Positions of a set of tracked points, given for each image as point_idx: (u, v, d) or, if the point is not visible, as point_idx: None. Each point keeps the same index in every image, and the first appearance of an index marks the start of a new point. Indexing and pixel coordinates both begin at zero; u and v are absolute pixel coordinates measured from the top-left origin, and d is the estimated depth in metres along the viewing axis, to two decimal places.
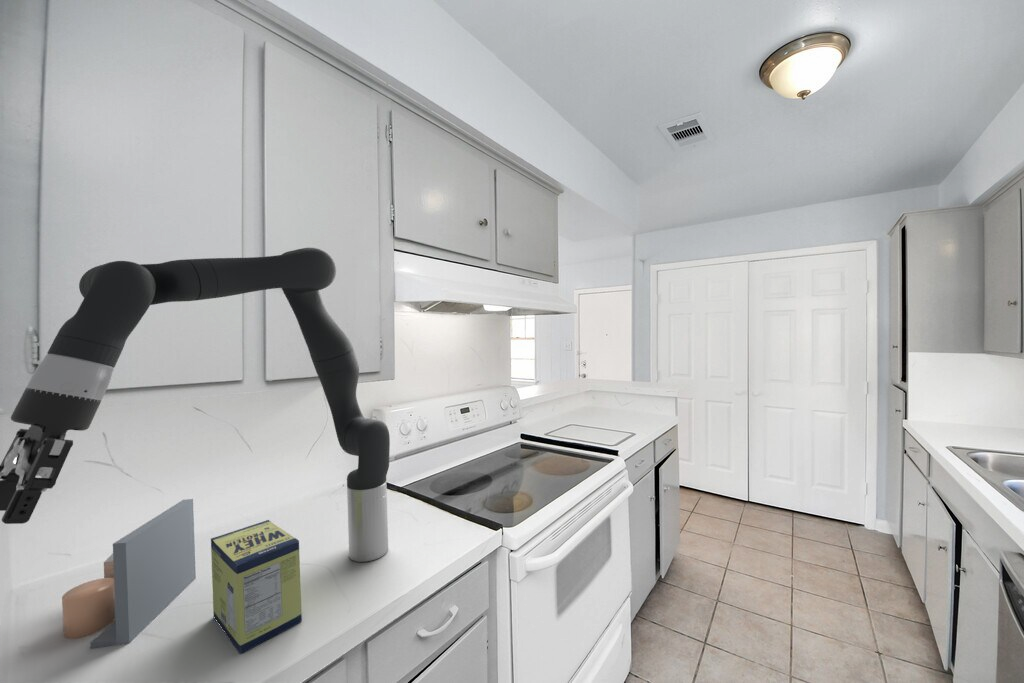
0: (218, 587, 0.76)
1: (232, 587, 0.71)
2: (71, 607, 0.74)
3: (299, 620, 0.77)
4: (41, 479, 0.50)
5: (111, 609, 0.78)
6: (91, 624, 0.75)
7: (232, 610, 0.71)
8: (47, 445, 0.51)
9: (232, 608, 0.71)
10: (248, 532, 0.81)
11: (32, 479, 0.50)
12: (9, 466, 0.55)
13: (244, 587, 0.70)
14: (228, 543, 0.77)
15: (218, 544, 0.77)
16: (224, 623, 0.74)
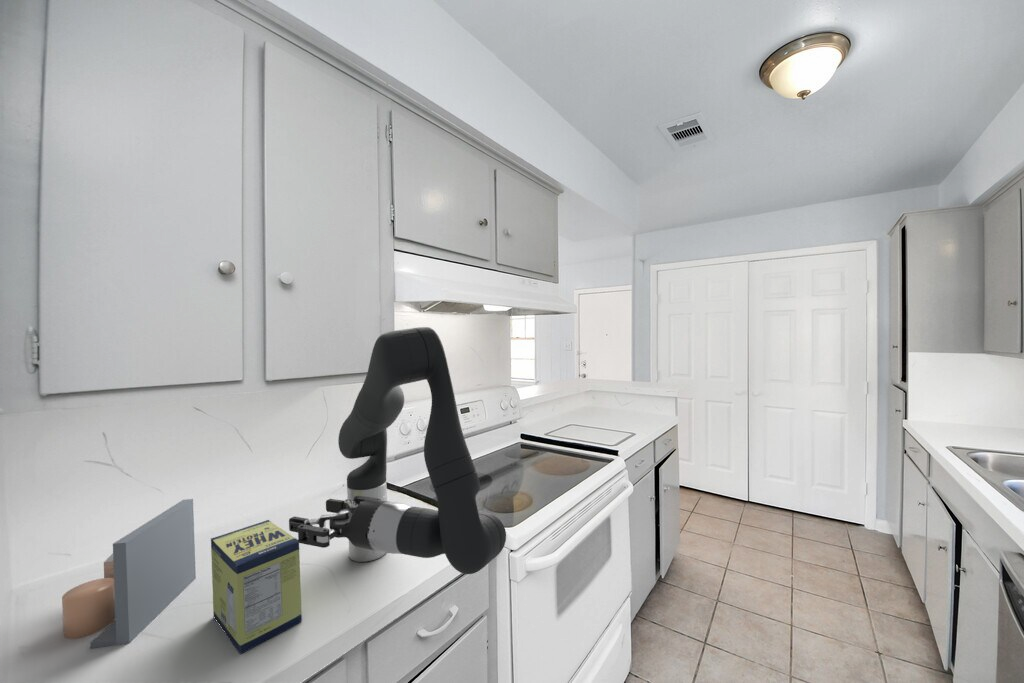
0: (218, 587, 0.76)
1: (232, 587, 0.71)
2: (71, 606, 0.74)
3: (299, 620, 0.77)
4: (360, 503, 0.77)
5: (111, 609, 0.78)
6: (91, 624, 0.75)
7: (232, 610, 0.71)
8: None
9: (232, 608, 0.71)
10: (248, 532, 0.81)
11: None
12: None
13: (244, 587, 0.70)
14: (228, 543, 0.77)
15: (218, 544, 0.76)
16: (224, 623, 0.74)
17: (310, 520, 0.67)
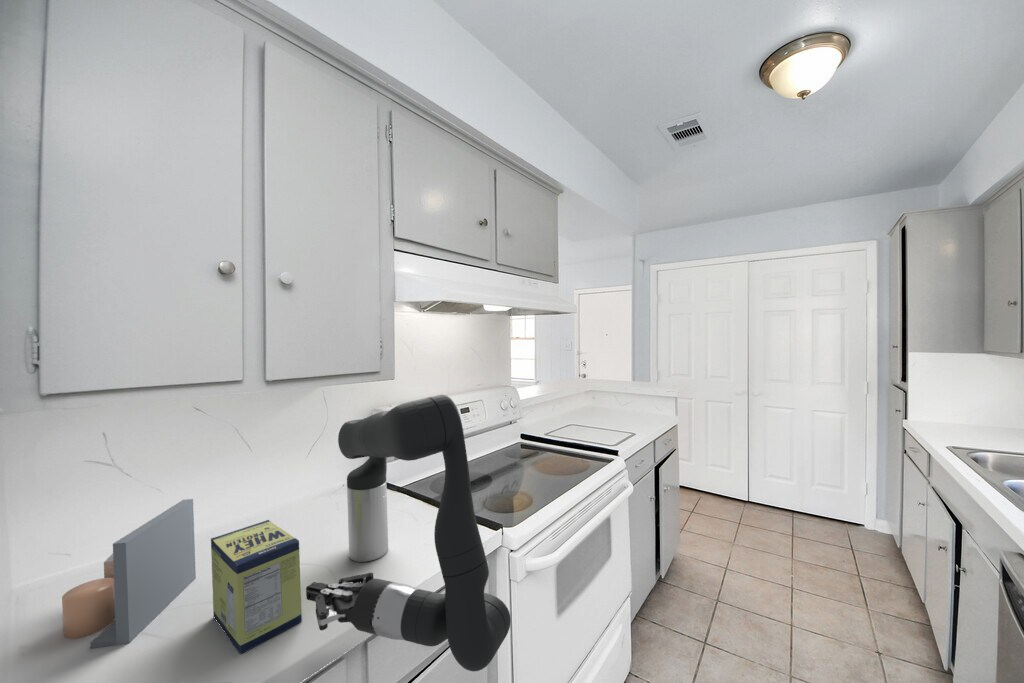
0: (218, 587, 0.76)
1: (232, 587, 0.71)
2: (71, 606, 0.74)
3: (299, 620, 0.77)
4: None
5: (111, 609, 0.78)
6: (91, 624, 0.75)
7: (232, 610, 0.71)
8: None
9: (232, 608, 0.71)
10: (248, 532, 0.81)
11: None
12: None
13: (244, 587, 0.70)
14: (228, 543, 0.77)
15: (218, 544, 0.76)
16: (224, 623, 0.74)
17: (326, 589, 0.71)
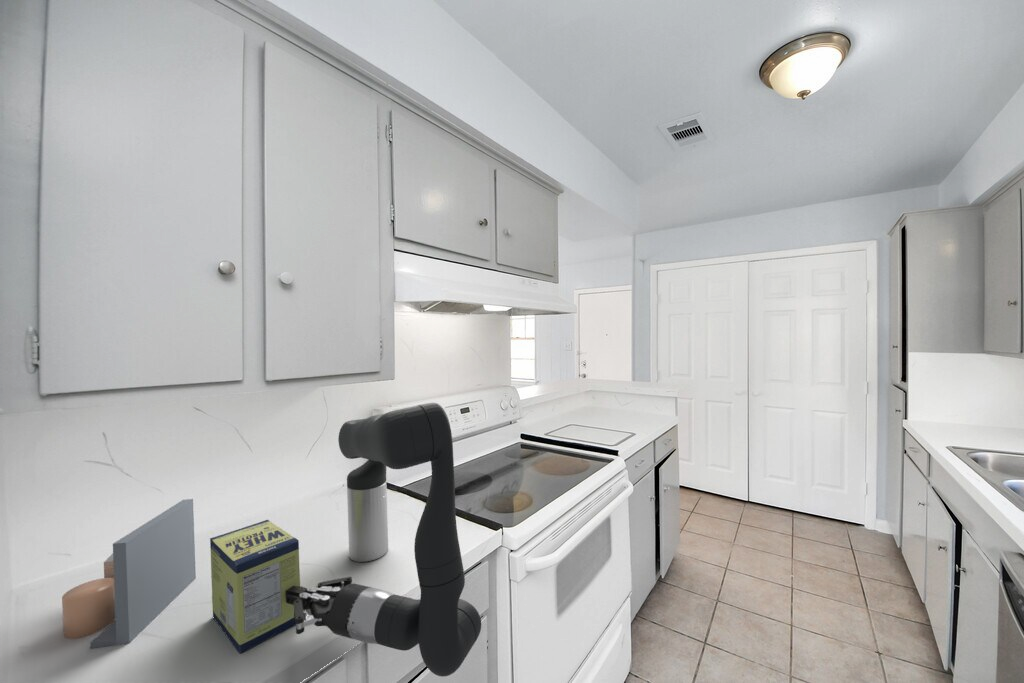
0: (217, 587, 0.76)
1: (232, 587, 0.71)
2: (71, 606, 0.74)
3: None
4: None
5: (111, 609, 0.78)
6: (91, 624, 0.75)
7: (232, 610, 0.71)
8: None
9: (232, 608, 0.71)
10: (247, 532, 0.81)
11: None
12: None
13: (244, 586, 0.70)
14: (228, 543, 0.77)
15: (217, 544, 0.77)
16: (223, 623, 0.75)
17: (305, 593, 0.73)
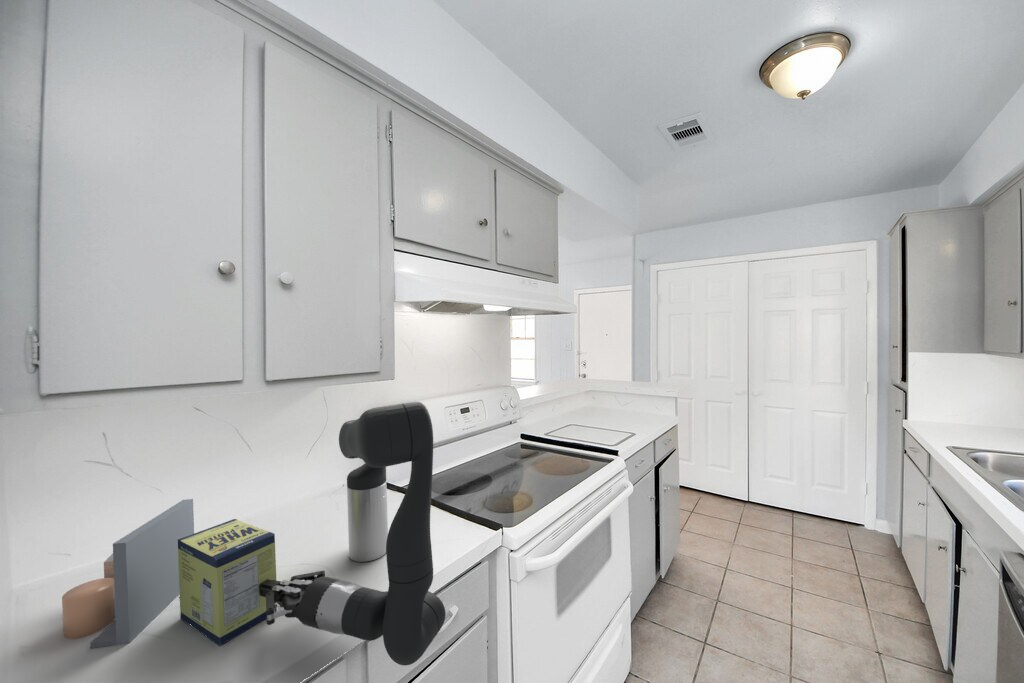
0: (189, 586, 0.76)
1: (209, 582, 0.72)
2: (71, 606, 0.74)
3: None
4: None
5: (111, 609, 0.78)
6: (91, 624, 0.75)
7: (209, 605, 0.73)
8: None
9: (209, 603, 0.73)
10: (217, 530, 0.82)
11: None
12: None
13: (223, 580, 0.72)
14: (200, 542, 0.77)
15: (188, 543, 0.77)
16: (197, 620, 0.75)
17: (278, 586, 0.75)
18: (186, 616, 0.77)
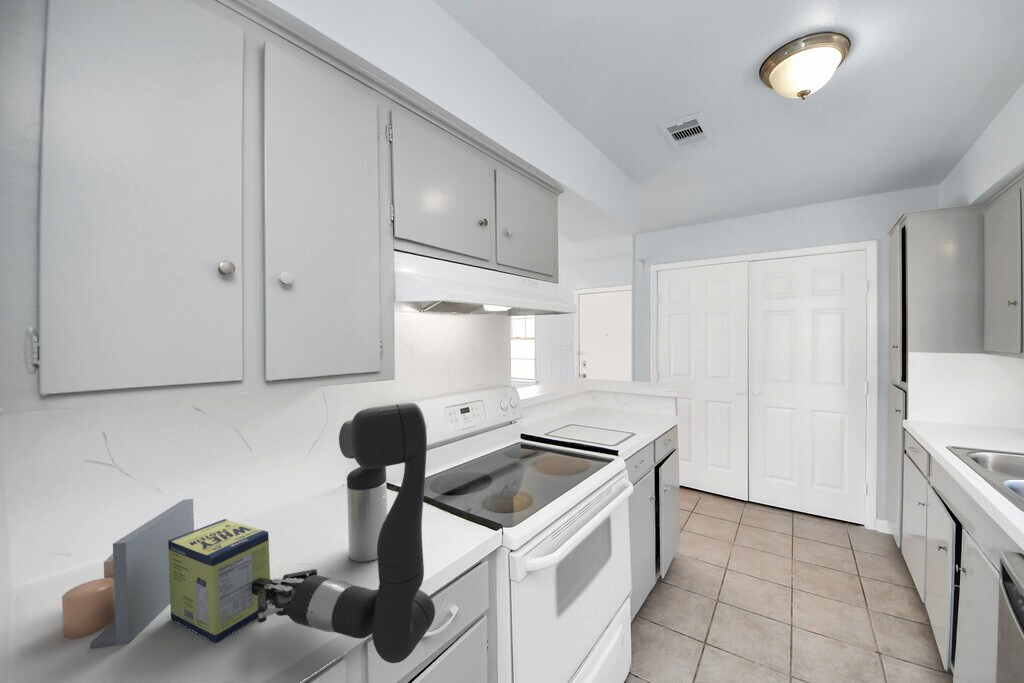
0: (181, 586, 0.77)
1: (204, 581, 0.73)
2: (71, 606, 0.74)
3: None
4: None
5: (111, 609, 0.78)
6: (91, 624, 0.75)
7: (204, 603, 0.73)
8: None
9: (204, 601, 0.73)
10: (208, 531, 0.82)
11: None
12: None
13: (219, 578, 0.73)
14: (192, 542, 0.77)
15: (180, 544, 0.77)
16: (190, 620, 0.76)
17: (270, 585, 0.76)
18: (177, 617, 0.77)
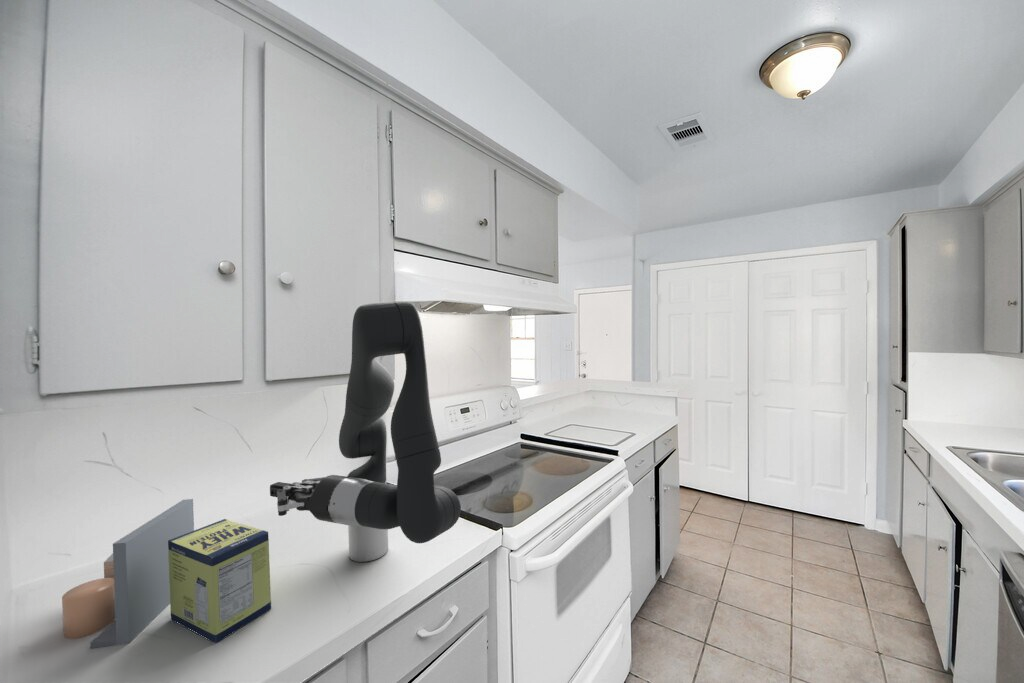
0: (181, 586, 0.77)
1: (204, 581, 0.73)
2: (71, 606, 0.74)
3: (269, 607, 0.81)
4: None
5: (111, 609, 0.78)
6: (91, 624, 0.75)
7: (204, 603, 0.73)
8: None
9: (204, 601, 0.73)
10: (208, 530, 0.82)
11: None
12: None
13: (219, 578, 0.73)
14: (192, 542, 0.77)
15: (180, 544, 0.77)
16: (190, 620, 0.76)
17: (289, 486, 0.74)
18: (177, 617, 0.77)
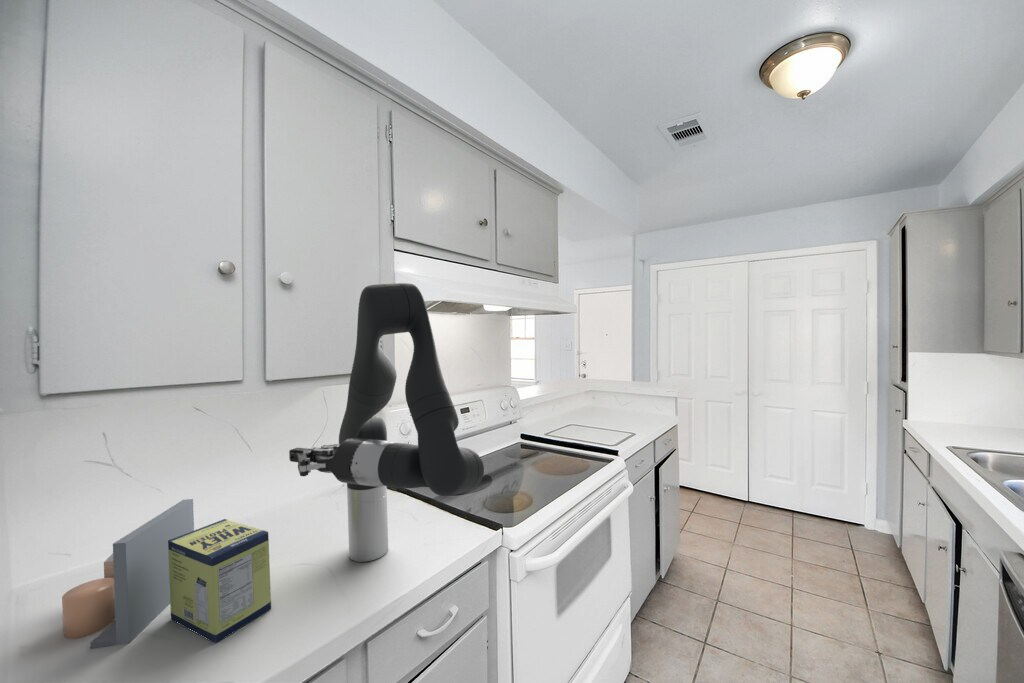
0: (181, 586, 0.77)
1: (204, 581, 0.73)
2: (71, 606, 0.74)
3: (269, 607, 0.81)
4: None
5: (111, 609, 0.78)
6: (91, 624, 0.75)
7: (204, 603, 0.73)
8: None
9: (204, 601, 0.73)
10: (208, 530, 0.82)
11: None
12: None
13: (219, 578, 0.73)
14: (192, 542, 0.77)
15: (180, 544, 0.77)
16: (190, 620, 0.76)
17: (309, 450, 0.74)
18: (177, 617, 0.77)
